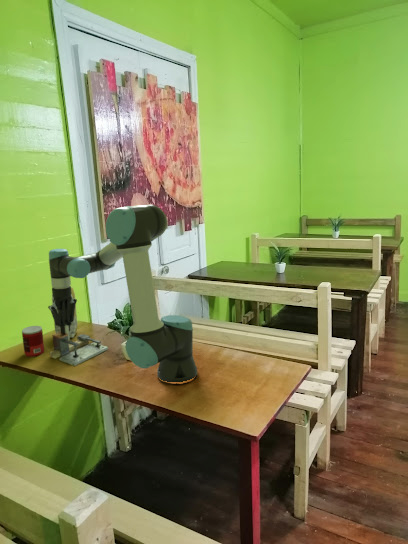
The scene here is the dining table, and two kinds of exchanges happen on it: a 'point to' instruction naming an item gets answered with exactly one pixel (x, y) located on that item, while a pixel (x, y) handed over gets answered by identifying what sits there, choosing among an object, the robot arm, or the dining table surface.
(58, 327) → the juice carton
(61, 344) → the slide leg
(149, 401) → the dining table surface
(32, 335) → the canned food
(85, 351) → the bolt plate
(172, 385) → the dining table surface
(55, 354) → the rail
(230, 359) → the dining table surface
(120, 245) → the robot arm
